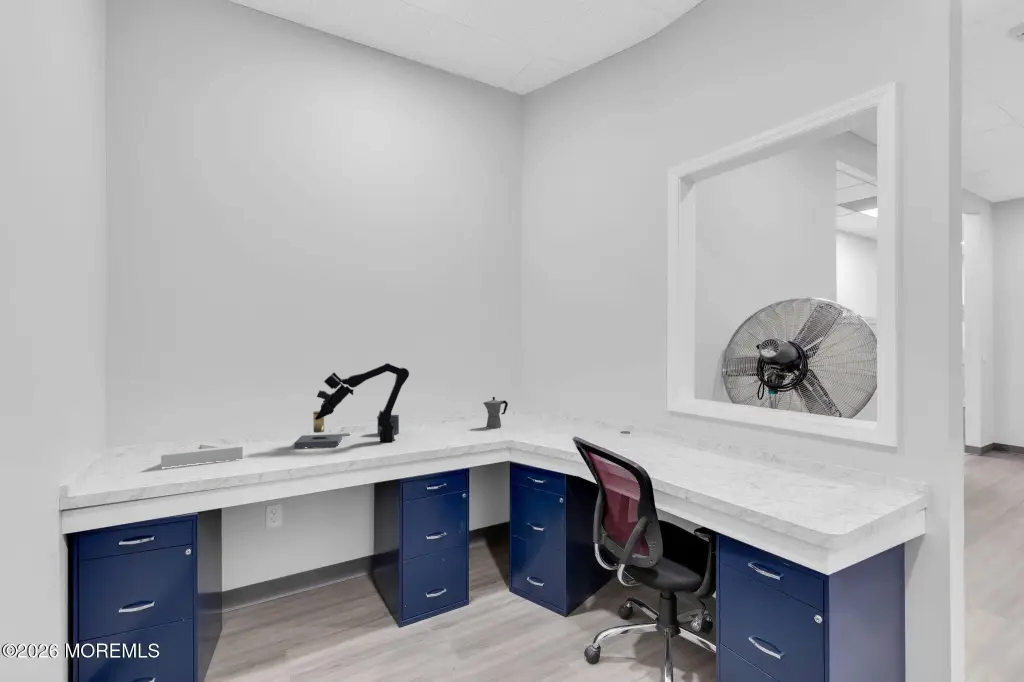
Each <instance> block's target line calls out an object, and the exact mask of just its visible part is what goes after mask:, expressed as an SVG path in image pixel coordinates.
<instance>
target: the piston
mask: <svg viewBox="0 0 1024 682" xmlns="http://www.w3.org/2000/svg"><path fill="white" fill-rule="evenodd" d="M319 412H320V410H316V411H313V412H312V413H313V418H312V419H313V420H312V421H313V426H312V427H313V433H324V432H325V416H324V417H322V418H320V419H318V420H316V419H315V418H316V416H317V415H318V413H319Z"/></svg>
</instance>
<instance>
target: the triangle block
mask: <svg viewBox="0 0 1024 682" xmlns="http://www.w3.org/2000/svg"><path fill="white" fill-rule="evenodd" d="M243 448H244V447H243V446H240V445H239V446H238V445H234V444H233V445H231V444H225V443H224V444H223V443H218V442H209V441H203V440H198V441H196V442H192V443H190V444H187V445H185V446H183V447H179V448H177V449H175V450H172V451H169V452H167V453H164V454H161V456H160V466H161V467H171V466H179V465H187V464H196V463H206V462H216V461H226V460H236V459H244V455H243ZM236 461H237V460H236ZM161 467H160V468H161Z"/></svg>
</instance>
